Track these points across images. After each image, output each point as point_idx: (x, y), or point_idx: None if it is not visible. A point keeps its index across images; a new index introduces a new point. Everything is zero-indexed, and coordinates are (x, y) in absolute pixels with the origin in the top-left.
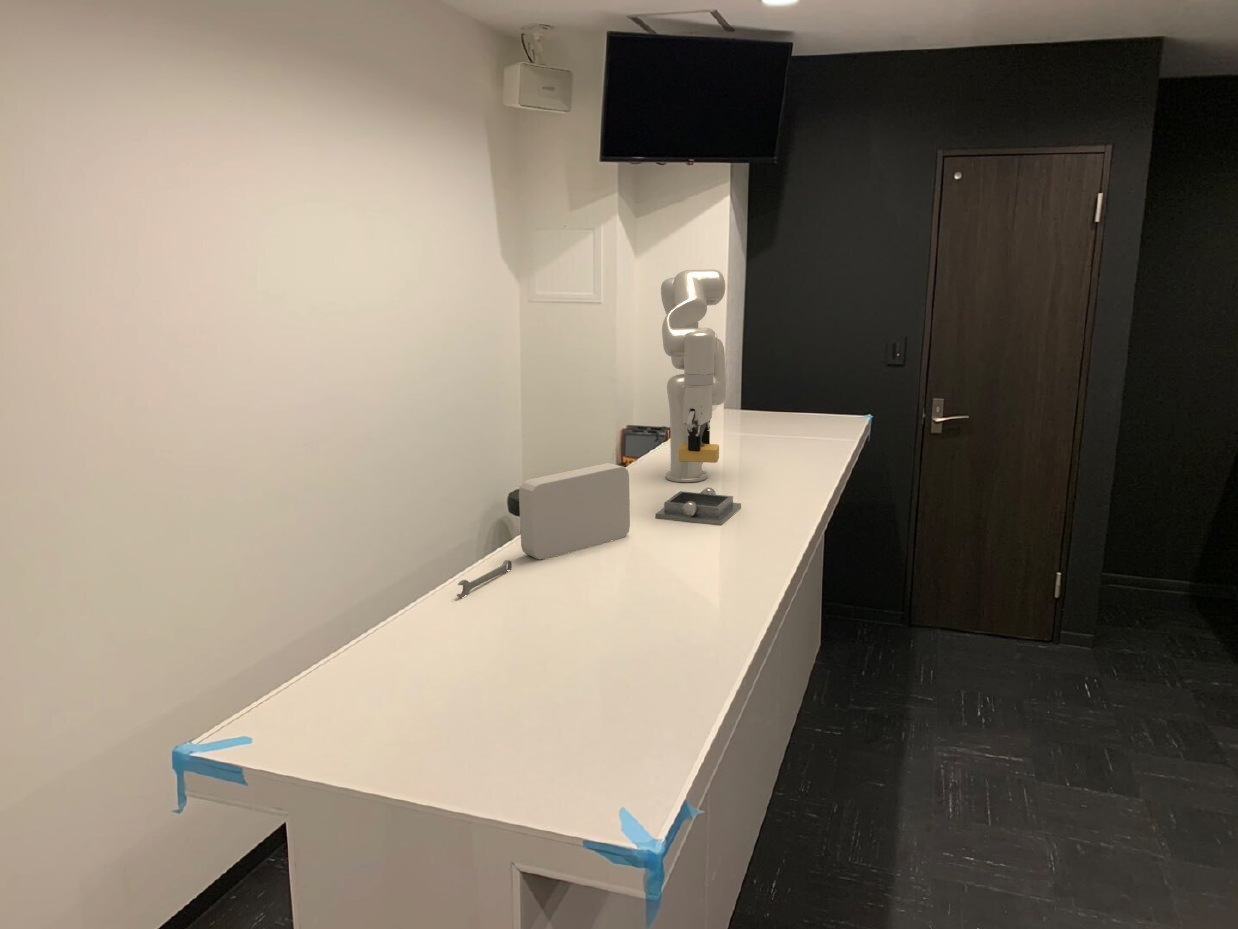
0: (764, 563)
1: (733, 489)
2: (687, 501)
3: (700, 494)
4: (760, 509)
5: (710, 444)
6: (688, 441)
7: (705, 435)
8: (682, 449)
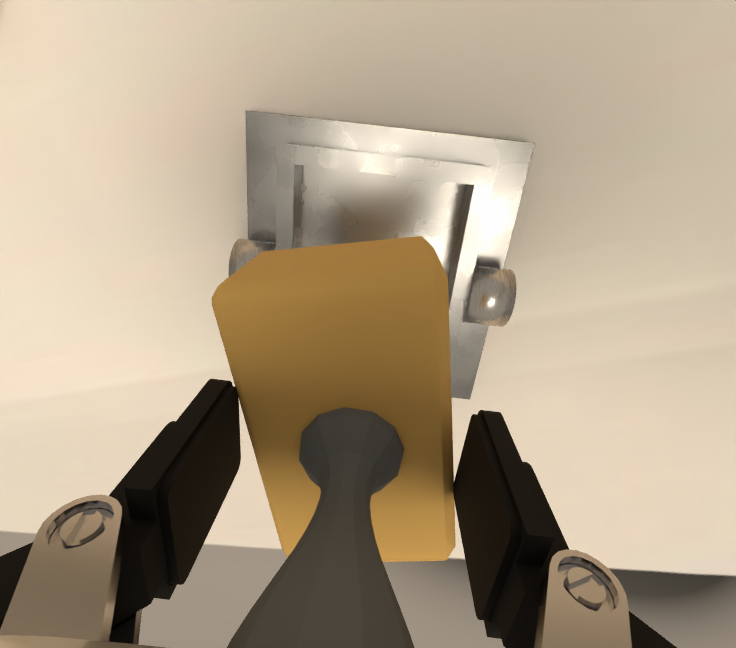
0: (21, 492)
1: (730, 330)
2: (461, 206)
3: (456, 274)
4: (457, 442)
5: (431, 517)
6: (170, 436)
7: (475, 553)
8: (220, 323)
